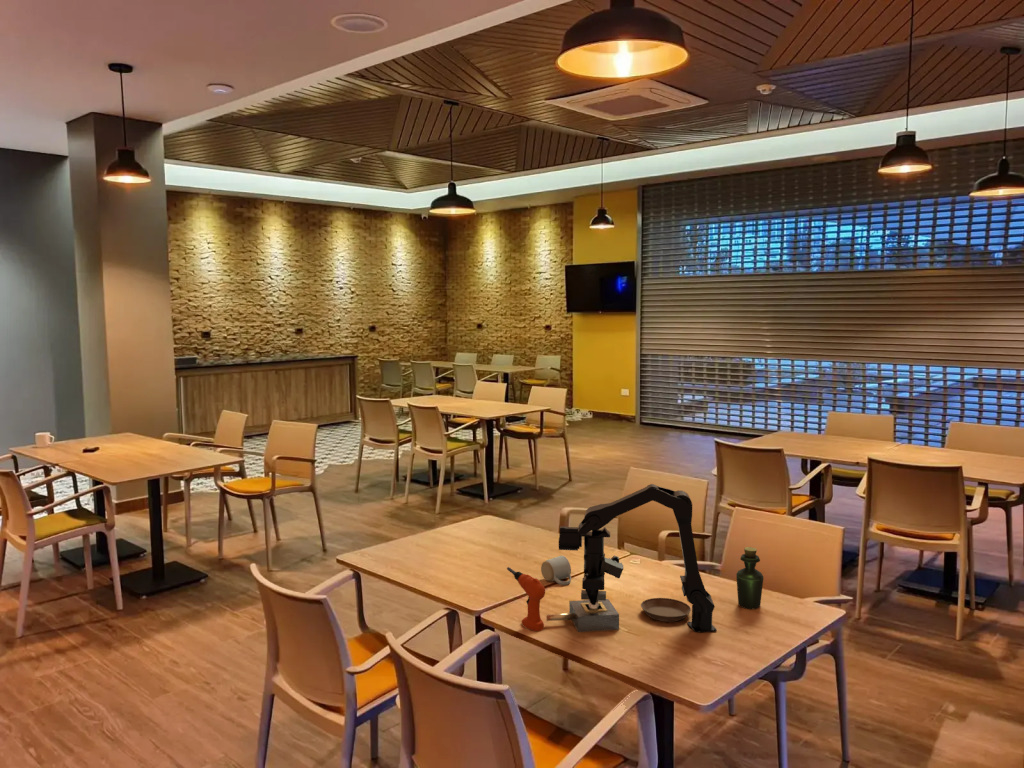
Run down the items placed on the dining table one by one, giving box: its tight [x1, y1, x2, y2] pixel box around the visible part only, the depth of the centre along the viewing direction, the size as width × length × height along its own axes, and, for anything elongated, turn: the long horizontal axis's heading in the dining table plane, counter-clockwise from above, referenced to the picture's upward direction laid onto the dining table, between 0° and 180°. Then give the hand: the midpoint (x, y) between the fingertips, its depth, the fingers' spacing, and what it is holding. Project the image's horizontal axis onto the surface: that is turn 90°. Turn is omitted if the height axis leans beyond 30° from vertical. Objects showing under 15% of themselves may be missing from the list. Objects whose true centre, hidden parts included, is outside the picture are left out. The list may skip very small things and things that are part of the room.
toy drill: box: [506, 566, 546, 632], centre depth 217 cm, size 5×19×15 cm, turn 33°
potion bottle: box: [735, 546, 764, 610], centre depth 228 cm, size 8×8×18 cm
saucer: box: [640, 597, 692, 622], centre depth 222 cm, size 15×15×3 cm
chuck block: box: [545, 598, 620, 633], centre depth 216 cm, size 12×20×5 cm, turn 97°
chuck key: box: [580, 589, 607, 610], centre depth 216 cm, size 3×7×8 cm, turn 83°
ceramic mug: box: [540, 555, 572, 586], centre depth 251 cm, size 11×8×8 cm
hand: (593, 602), depth 216 cm, fingers closed on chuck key, 3 cm apart
